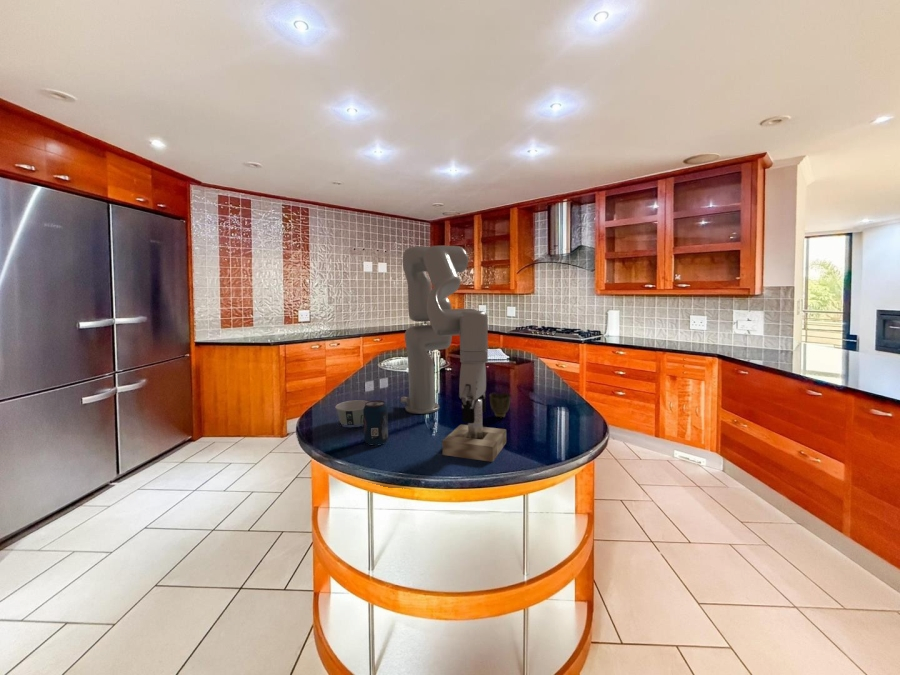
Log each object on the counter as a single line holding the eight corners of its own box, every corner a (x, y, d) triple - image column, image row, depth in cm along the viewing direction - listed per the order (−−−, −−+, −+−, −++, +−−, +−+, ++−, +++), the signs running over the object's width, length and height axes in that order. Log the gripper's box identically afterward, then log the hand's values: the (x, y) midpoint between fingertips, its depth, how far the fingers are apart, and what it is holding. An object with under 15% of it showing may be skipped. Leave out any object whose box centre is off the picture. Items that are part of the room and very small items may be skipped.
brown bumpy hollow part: (510, 413, 145) (510, 391, 144) (511, 420, 137) (511, 397, 136) (489, 413, 145) (489, 391, 144) (489, 420, 138) (489, 397, 137)
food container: (343, 417, 145) (342, 400, 144) (376, 418, 143) (375, 400, 143) (330, 429, 133) (329, 409, 132) (366, 429, 131) (365, 410, 131)
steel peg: (466, 450, 112) (465, 400, 111) (471, 445, 116) (470, 397, 114) (480, 452, 111) (479, 402, 109) (484, 446, 114) (483, 398, 113)
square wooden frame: (442, 454, 110) (442, 440, 109) (460, 437, 122) (460, 424, 122) (492, 461, 104) (492, 446, 104) (506, 442, 117) (506, 429, 117)
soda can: (366, 438, 123) (364, 400, 122) (389, 438, 123) (388, 399, 122) (362, 447, 116) (361, 406, 115) (387, 446, 116) (385, 405, 115)
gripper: (471, 350, 120) (471, 406, 122) (449, 361, 104) (450, 425, 106) (495, 351, 117) (495, 409, 119) (476, 362, 101) (477, 428, 103)
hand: (474, 416), depth 113 cm, fingers open, 9 cm apart
